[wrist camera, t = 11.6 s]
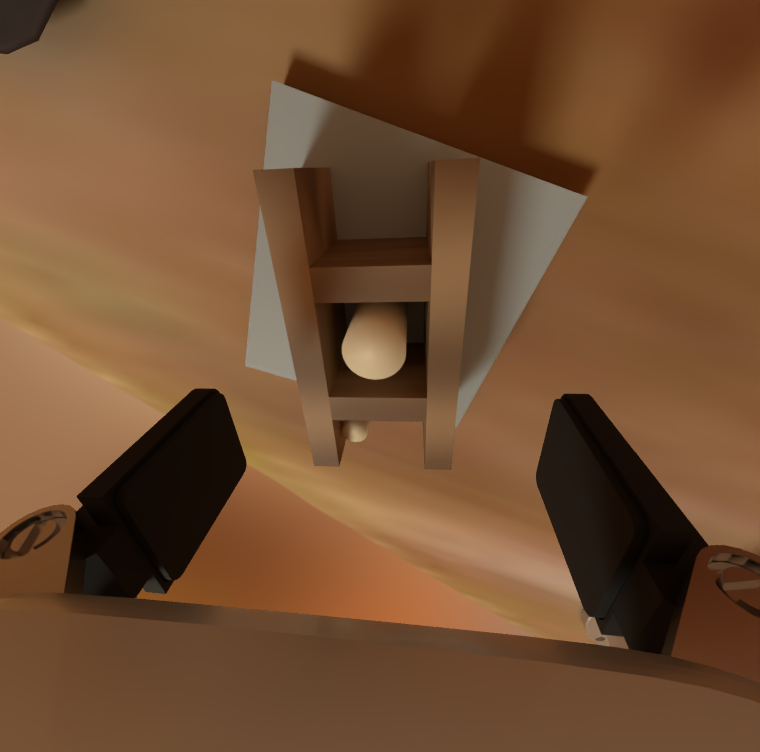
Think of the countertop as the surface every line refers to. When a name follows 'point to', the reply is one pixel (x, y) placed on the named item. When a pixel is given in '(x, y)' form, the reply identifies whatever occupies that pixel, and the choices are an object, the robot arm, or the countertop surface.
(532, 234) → the base
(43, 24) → the black low round piece
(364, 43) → the countertop surface
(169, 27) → the countertop surface
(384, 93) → the countertop surface
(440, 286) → the wooden h-shaped stand
